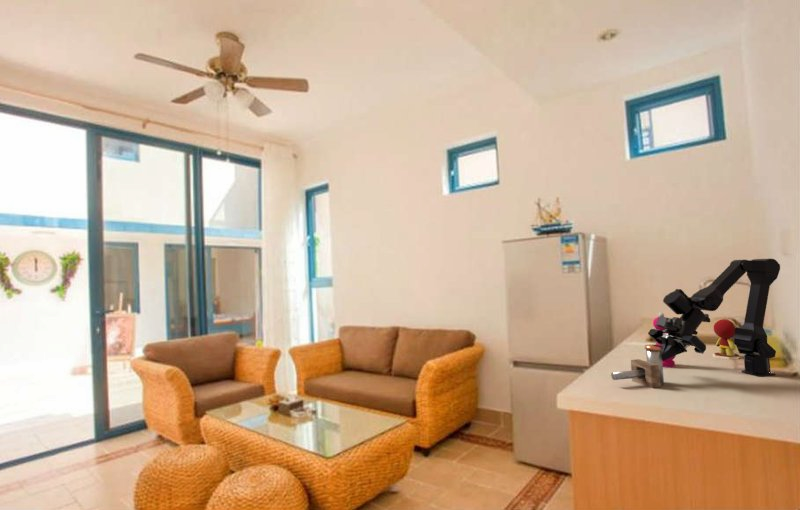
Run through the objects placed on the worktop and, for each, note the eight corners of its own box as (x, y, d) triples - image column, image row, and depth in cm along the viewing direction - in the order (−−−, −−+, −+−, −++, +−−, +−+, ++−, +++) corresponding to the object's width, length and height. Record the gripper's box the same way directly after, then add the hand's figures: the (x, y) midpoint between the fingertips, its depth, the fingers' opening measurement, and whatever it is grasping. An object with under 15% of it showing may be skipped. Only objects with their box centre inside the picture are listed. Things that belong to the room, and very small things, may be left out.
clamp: (657, 380, 140) (654, 344, 141) (668, 383, 135) (666, 346, 136) (609, 384, 138) (606, 348, 138) (619, 388, 133) (616, 350, 133)
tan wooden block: (640, 380, 141) (638, 359, 142) (660, 387, 132) (658, 364, 133) (632, 380, 141) (630, 359, 141) (652, 388, 132) (650, 365, 132)
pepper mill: (680, 367, 155) (676, 313, 156) (658, 367, 156) (654, 313, 157) (671, 363, 162) (667, 311, 163) (651, 363, 163) (647, 311, 164)
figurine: (747, 358, 163) (744, 319, 164) (722, 359, 163) (719, 321, 164) (730, 354, 172) (727, 317, 173) (706, 355, 172) (703, 318, 172)
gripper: (650, 305, 149) (624, 339, 146) (694, 310, 130) (666, 348, 128) (672, 326, 149) (646, 360, 147) (719, 333, 131) (691, 372, 129)
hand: (661, 359), depth 138 cm, fingers closed, pressing on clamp
